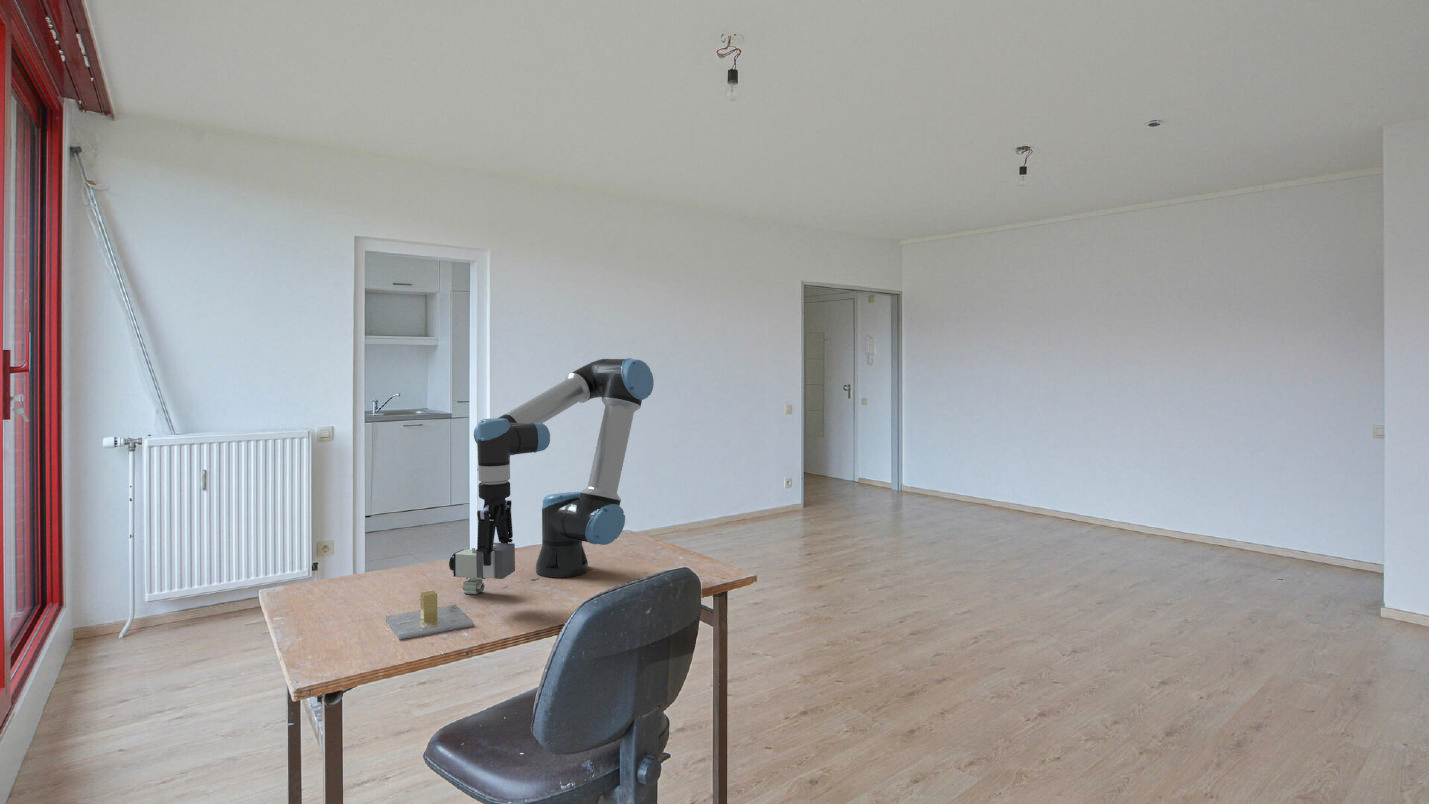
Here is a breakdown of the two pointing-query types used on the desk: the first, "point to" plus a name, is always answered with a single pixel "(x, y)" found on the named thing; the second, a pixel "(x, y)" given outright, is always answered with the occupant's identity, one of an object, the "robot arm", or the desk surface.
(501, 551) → the grey cabinet with handle
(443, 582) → the desk surface
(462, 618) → the grey peg base
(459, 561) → the pneumatic valve
